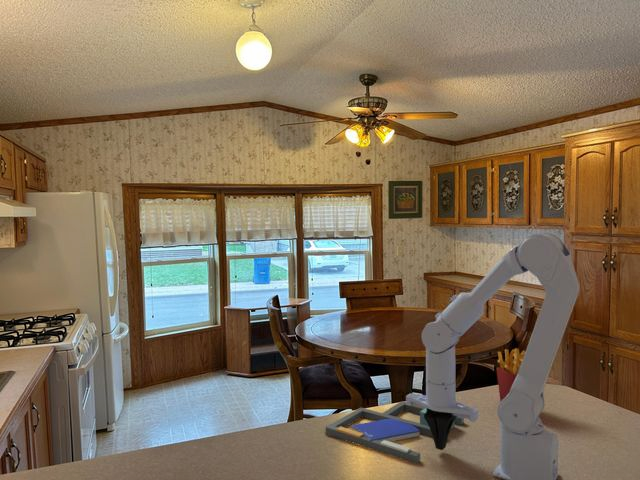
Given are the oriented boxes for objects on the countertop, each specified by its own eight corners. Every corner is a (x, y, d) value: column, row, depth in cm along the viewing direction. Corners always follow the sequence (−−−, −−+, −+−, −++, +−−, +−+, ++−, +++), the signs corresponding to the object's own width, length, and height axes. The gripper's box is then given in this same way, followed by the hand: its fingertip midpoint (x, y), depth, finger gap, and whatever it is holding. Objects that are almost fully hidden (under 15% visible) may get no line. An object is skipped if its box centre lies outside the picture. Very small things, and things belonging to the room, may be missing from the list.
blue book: (370, 439, 98) (419, 429, 104) (351, 424, 106) (397, 415, 111) (370, 447, 98) (419, 436, 104) (350, 431, 106) (397, 422, 111)
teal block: (454, 426, 109) (454, 410, 108) (445, 433, 105) (445, 418, 104) (429, 419, 112) (429, 404, 112) (420, 427, 108) (420, 411, 108)
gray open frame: (446, 437, 103) (446, 428, 103) (416, 463, 92) (416, 454, 92) (360, 413, 116) (360, 405, 116) (325, 433, 105) (325, 425, 105)
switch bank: (463, 422, 110) (463, 414, 110) (446, 437, 103) (446, 428, 103) (401, 407, 120) (401, 399, 120) (382, 419, 113) (382, 411, 113)
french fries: (515, 416, 113) (515, 353, 113) (490, 404, 121) (490, 345, 121) (543, 410, 117) (543, 349, 116) (517, 399, 124) (518, 342, 124)
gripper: (483, 382, 94) (483, 450, 95) (416, 369, 103) (417, 431, 104) (470, 392, 89) (470, 464, 89) (400, 377, 98) (401, 443, 98)
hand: (440, 447), depth 96 cm, fingers closed
